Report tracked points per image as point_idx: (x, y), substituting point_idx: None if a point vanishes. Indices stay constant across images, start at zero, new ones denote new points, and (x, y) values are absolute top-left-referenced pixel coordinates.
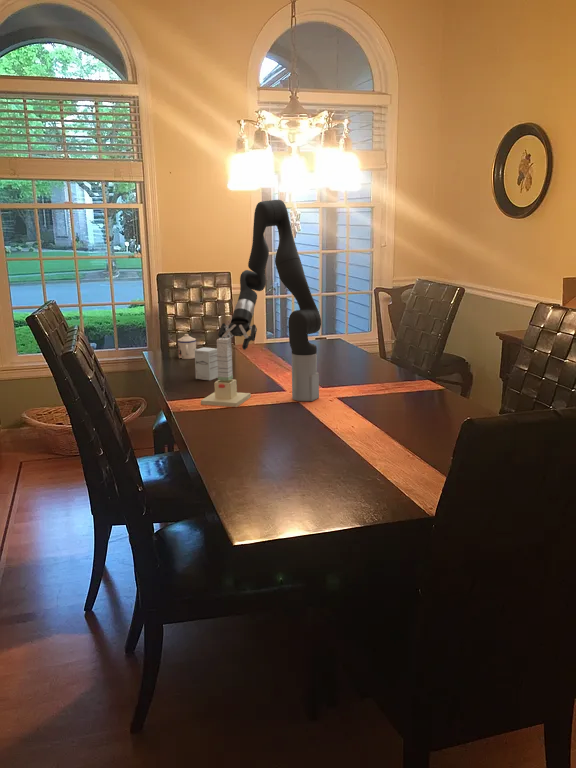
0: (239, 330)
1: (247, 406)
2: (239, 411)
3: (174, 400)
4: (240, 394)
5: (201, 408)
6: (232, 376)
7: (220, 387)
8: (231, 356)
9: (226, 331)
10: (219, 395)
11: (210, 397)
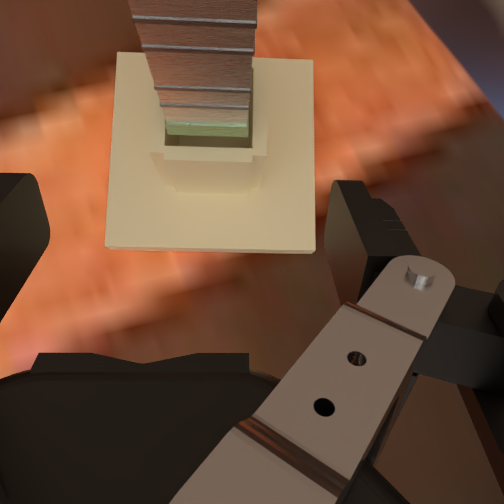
0: (47, 430)
1: (74, 86)
2: (86, 5)
3: (465, 107)
4: (153, 209)
5: (277, 14)
6: (166, 123)
7: None
8: (136, 20)
9: (415, 333)
10: None
11: (288, 118)
